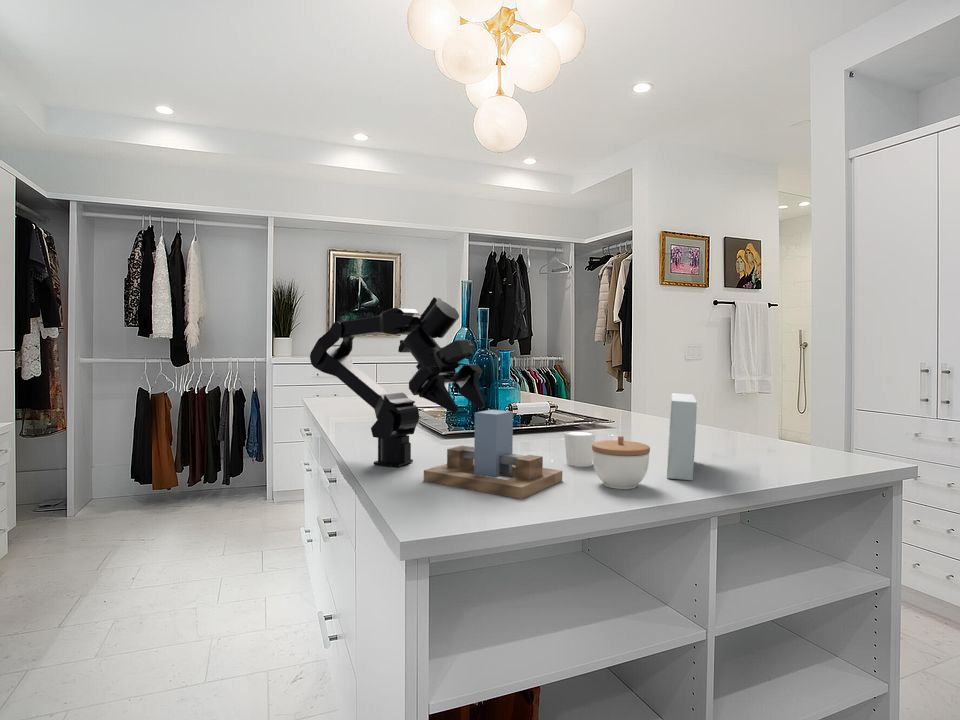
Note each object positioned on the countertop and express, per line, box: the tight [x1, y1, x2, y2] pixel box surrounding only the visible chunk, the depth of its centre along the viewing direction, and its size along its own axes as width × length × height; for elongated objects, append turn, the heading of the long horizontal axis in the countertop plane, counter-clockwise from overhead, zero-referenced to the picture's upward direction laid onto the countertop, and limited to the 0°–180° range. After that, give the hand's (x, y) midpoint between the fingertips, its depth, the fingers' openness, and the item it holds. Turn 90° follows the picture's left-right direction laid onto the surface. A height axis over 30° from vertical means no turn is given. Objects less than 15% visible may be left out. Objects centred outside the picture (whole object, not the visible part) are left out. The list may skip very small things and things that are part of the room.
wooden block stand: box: [423, 445, 563, 500], centre depth 110 cm, size 22×16×6 cm
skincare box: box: [666, 392, 698, 481], centre depth 122 cm, size 21×6×16 cm, turn 161°
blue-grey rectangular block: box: [473, 409, 514, 478], centre depth 110 cm, size 6×5×12 cm
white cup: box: [564, 430, 596, 468], centre depth 126 cm, size 7×7×7 cm
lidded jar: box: [592, 435, 651, 490], centre depth 108 cm, size 11×11×9 cm
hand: (470, 409), depth 113 cm, fingers open, 9 cm apart
